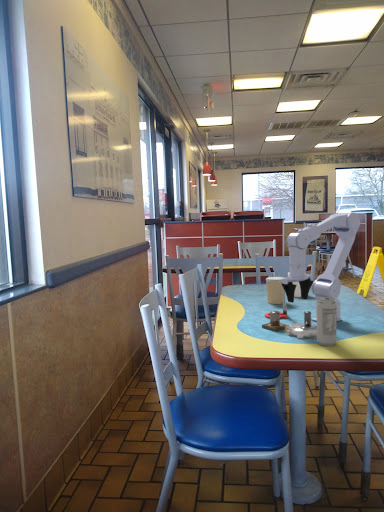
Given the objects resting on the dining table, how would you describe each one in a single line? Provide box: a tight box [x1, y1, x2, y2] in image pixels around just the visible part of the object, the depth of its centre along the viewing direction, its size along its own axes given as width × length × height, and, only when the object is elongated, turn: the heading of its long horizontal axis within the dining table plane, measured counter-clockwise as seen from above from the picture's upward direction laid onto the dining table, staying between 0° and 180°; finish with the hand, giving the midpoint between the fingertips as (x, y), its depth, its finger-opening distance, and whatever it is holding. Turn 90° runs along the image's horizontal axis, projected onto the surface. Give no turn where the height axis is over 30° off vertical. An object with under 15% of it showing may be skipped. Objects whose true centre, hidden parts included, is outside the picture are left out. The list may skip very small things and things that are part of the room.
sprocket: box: [284, 310, 317, 340], centre depth 132 cm, size 14×14×6 cm
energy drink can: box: [316, 297, 338, 347], centre depth 120 cm, size 6×6×15 cm
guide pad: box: [261, 322, 290, 332], centre depth 140 cm, size 7×7×1 cm
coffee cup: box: [265, 276, 285, 305], centre depth 180 cm, size 9×9×12 cm
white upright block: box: [287, 272, 307, 298], centre depth 195 cm, size 9×9×12 cm
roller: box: [269, 310, 281, 326], centre depth 139 cm, size 4×4×5 cm
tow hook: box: [264, 287, 288, 320], centre depth 155 cm, size 8×13×9 cm
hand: (297, 300), depth 140 cm, fingers open, 7 cm apart
